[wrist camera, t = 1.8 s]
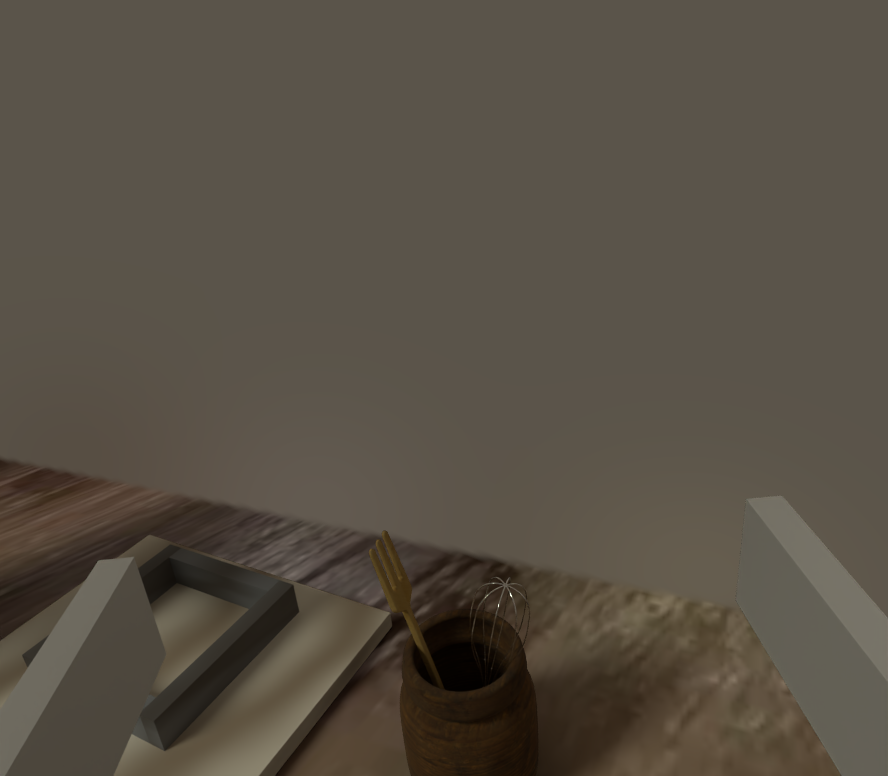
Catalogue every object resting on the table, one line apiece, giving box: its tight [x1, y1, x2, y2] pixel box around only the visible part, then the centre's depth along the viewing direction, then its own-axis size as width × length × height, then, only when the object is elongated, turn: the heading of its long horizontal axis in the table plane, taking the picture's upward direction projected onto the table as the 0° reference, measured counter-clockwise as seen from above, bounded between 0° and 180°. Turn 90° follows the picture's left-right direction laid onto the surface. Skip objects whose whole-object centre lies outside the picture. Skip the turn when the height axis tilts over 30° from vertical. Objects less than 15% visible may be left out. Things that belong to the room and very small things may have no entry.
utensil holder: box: [369, 531, 538, 776], centre depth 30 cm, size 6×6×12 cm
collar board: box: [0, 535, 392, 776], centre depth 39 cm, size 20×14×3 cm
